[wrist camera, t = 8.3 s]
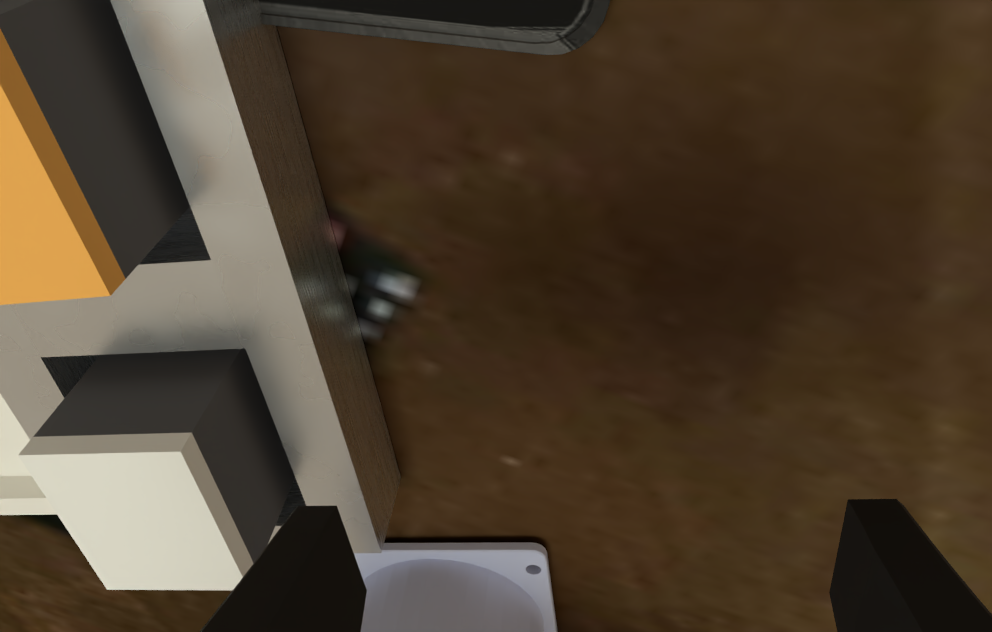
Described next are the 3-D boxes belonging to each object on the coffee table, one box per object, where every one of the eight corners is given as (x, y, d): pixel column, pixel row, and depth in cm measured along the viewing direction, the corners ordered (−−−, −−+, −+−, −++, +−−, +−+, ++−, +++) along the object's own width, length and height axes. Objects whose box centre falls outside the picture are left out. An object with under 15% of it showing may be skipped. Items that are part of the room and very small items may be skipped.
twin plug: (306, 448, 24) (249, 590, 20) (186, 451, 25) (107, 589, 21) (259, 317, 21) (180, 451, 17) (125, 323, 22) (17, 455, 18)
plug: (214, 179, 19) (110, 295, 15) (67, 195, 20) (-72, 310, 15) (128, -41, 16) (-30, 27, 12) (-40, -14, 17) (-245, 59, 13)
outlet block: (400, 477, 25) (381, 553, 23) (146, 481, 27) (103, 553, 24) (223, -165, 15) (153, -151, 13) (-175, -107, 16) (-306, -83, 14)
